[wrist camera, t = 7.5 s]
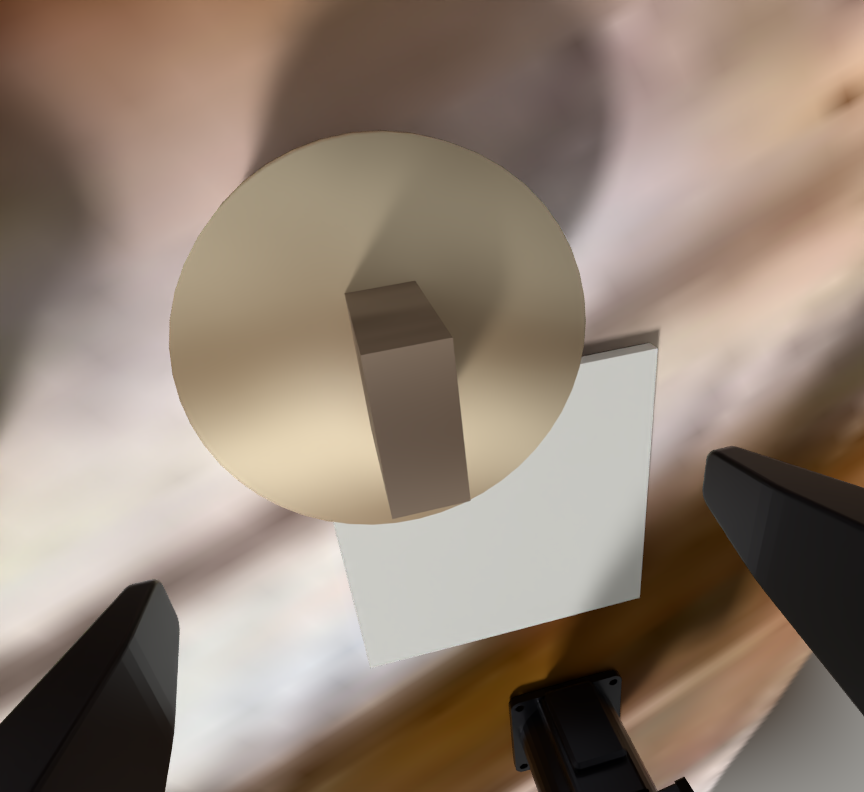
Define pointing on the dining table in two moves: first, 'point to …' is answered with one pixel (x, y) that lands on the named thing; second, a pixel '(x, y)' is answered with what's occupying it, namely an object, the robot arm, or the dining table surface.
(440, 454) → the lid
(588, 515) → the mat
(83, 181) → the dining table surface
